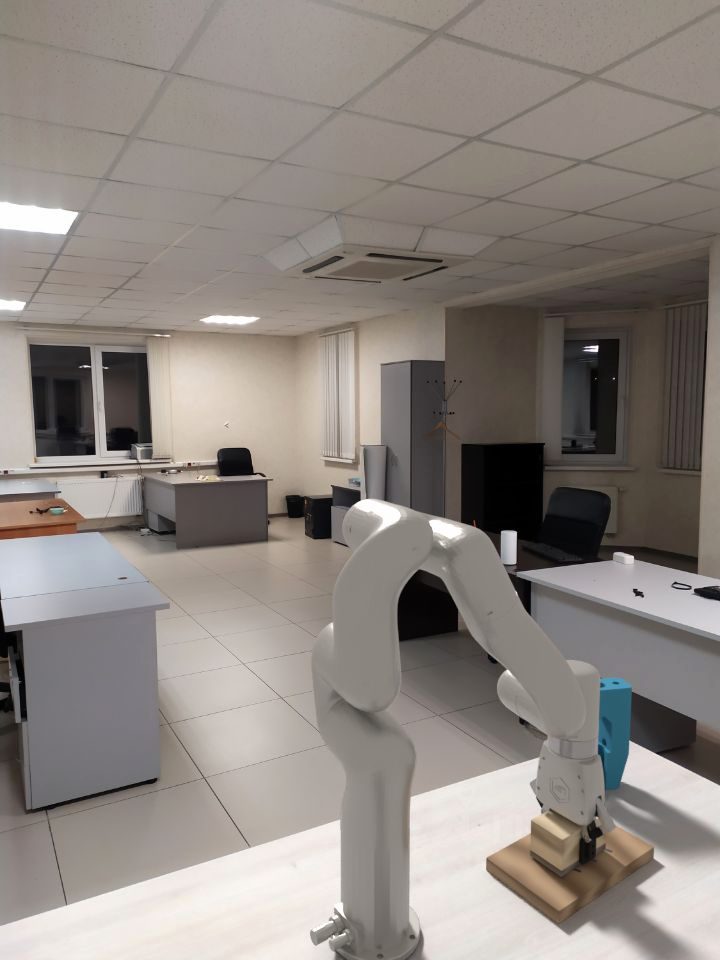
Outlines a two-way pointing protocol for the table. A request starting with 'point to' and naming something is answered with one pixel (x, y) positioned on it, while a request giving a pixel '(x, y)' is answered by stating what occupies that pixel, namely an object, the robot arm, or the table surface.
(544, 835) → the block
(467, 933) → the table surface
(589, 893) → the oak board
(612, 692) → the block
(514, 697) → the robot arm
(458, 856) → the table surface
